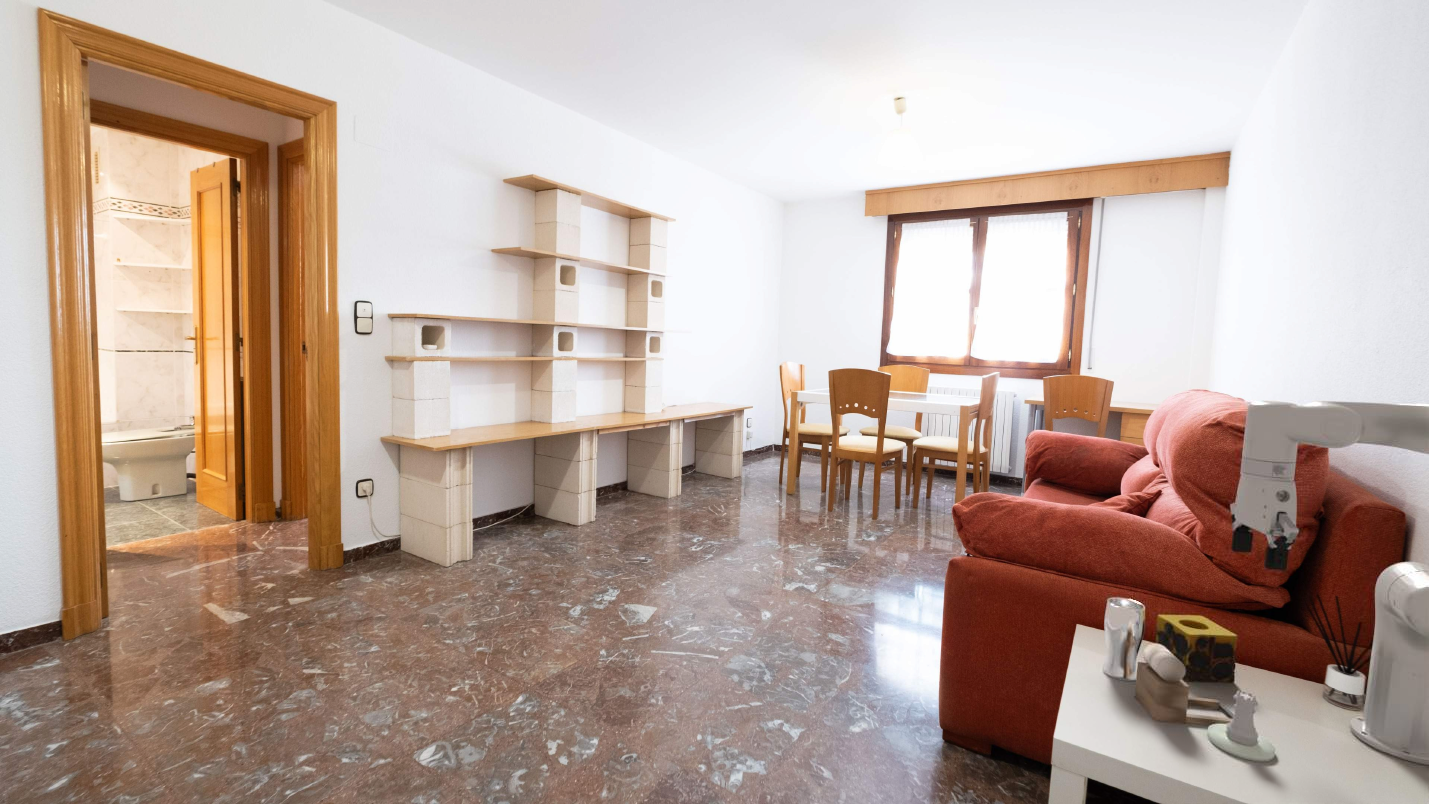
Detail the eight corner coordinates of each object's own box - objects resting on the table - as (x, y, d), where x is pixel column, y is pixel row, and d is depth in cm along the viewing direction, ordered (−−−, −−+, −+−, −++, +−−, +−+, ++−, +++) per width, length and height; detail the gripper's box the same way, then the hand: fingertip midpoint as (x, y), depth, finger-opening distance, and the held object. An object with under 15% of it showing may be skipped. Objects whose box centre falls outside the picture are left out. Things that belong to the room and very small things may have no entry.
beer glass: (1146, 684, 131) (1152, 612, 130) (1107, 680, 133) (1113, 608, 131) (1131, 667, 138) (1137, 598, 137) (1095, 663, 140) (1101, 595, 138)
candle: (1235, 684, 133) (1240, 636, 132) (1185, 682, 133) (1189, 635, 132) (1199, 659, 143) (1203, 614, 142) (1152, 657, 143) (1156, 613, 142)
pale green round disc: (1252, 732, 116) (1253, 726, 116) (1288, 764, 107) (1288, 759, 107) (1196, 726, 117) (1196, 720, 117) (1226, 757, 109) (1227, 752, 108)
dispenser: (1220, 705, 124) (1226, 647, 123) (1246, 730, 116) (1253, 668, 115) (1134, 696, 127) (1139, 639, 126) (1155, 720, 119) (1160, 660, 118)
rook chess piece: (1260, 750, 109) (1265, 704, 108) (1226, 741, 111) (1231, 696, 111) (1255, 736, 113) (1260, 692, 112) (1223, 728, 115) (1227, 684, 114)
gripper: (1326, 480, 111) (1314, 578, 113) (1259, 461, 128) (1250, 547, 130) (1276, 477, 112) (1265, 575, 114) (1216, 459, 129) (1208, 544, 131)
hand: (1257, 560), depth 122 cm, fingers open, 9 cm apart
